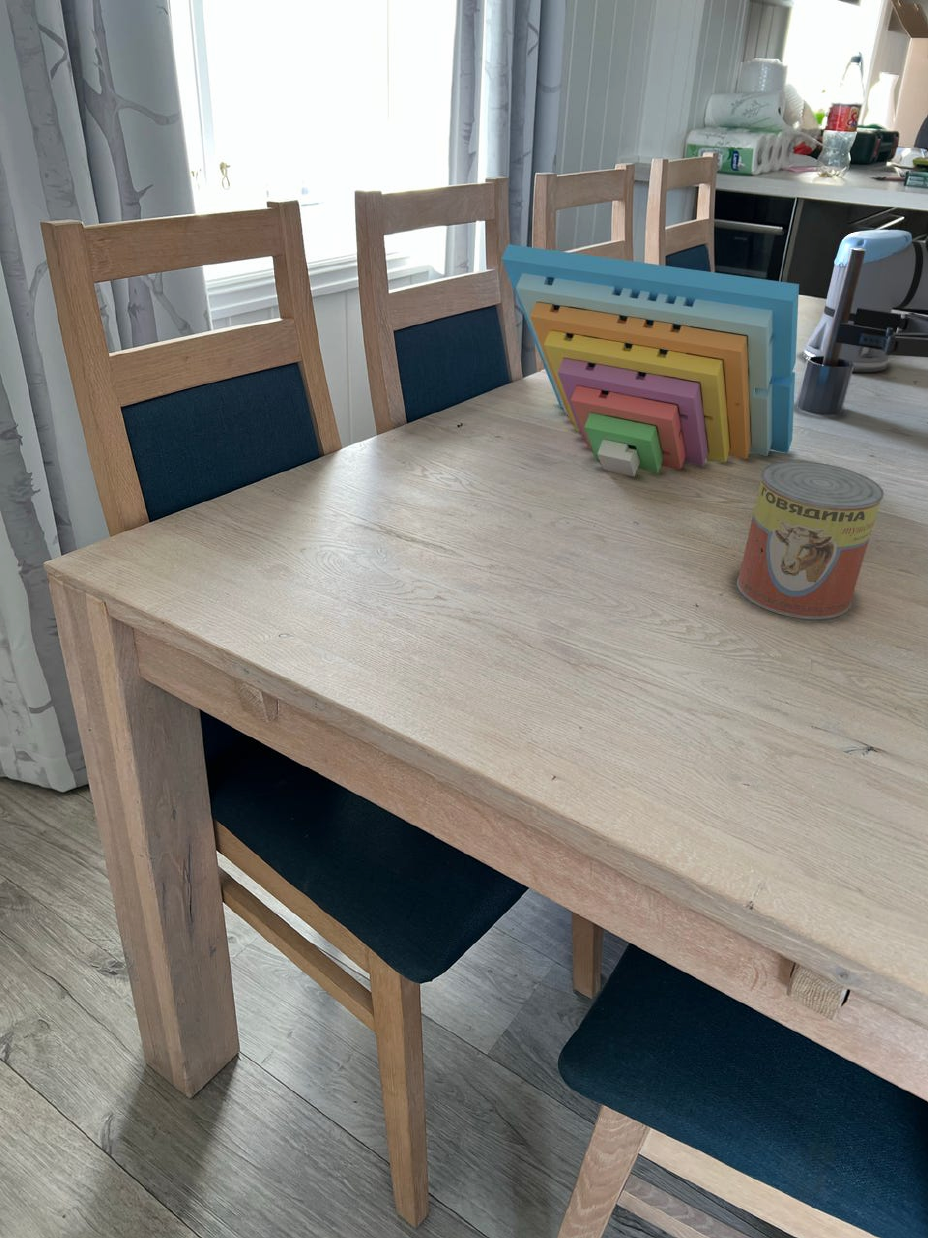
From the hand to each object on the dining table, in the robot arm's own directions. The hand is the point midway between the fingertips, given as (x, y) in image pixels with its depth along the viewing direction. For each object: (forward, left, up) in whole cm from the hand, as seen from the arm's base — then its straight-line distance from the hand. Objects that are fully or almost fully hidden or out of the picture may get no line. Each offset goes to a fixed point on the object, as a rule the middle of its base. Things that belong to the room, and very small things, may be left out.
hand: (846, 324), depth 144 cm
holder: (0, -1, -14) cm, 14 cm away
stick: (0, -1, -13) cm, 13 cm away
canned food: (+66, +11, -14) cm, 68 cm away
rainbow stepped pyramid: (+36, -17, -14) cm, 42 cm away
